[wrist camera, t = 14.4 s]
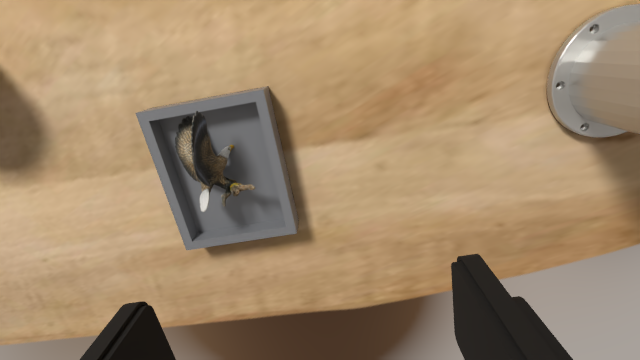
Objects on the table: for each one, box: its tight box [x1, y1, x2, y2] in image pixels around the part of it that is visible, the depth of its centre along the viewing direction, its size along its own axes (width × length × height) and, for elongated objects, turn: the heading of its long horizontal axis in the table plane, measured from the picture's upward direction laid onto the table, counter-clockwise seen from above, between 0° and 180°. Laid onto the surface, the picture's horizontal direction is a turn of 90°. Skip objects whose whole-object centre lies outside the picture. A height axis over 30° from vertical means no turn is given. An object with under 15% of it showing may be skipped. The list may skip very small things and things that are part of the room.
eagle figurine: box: [175, 111, 255, 212], centre depth 34 cm, size 8×7×9 cm
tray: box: [136, 86, 299, 250], centre depth 37 cm, size 13×16×3 cm
